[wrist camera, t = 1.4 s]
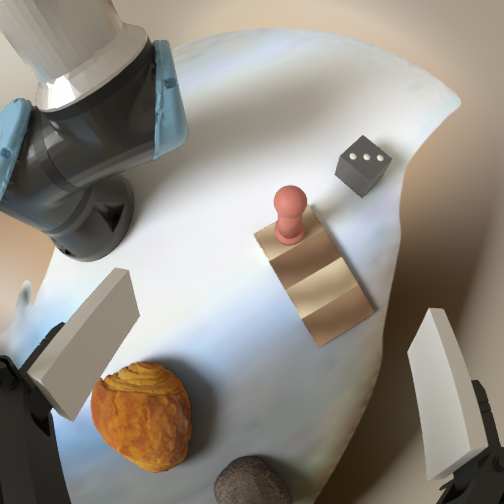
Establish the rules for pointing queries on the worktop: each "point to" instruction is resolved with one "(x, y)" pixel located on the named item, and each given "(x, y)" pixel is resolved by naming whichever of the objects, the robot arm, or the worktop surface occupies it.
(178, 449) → the croissant
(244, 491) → the stone
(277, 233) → the pawn
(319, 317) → the track
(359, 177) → the die
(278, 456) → the worktop surface
